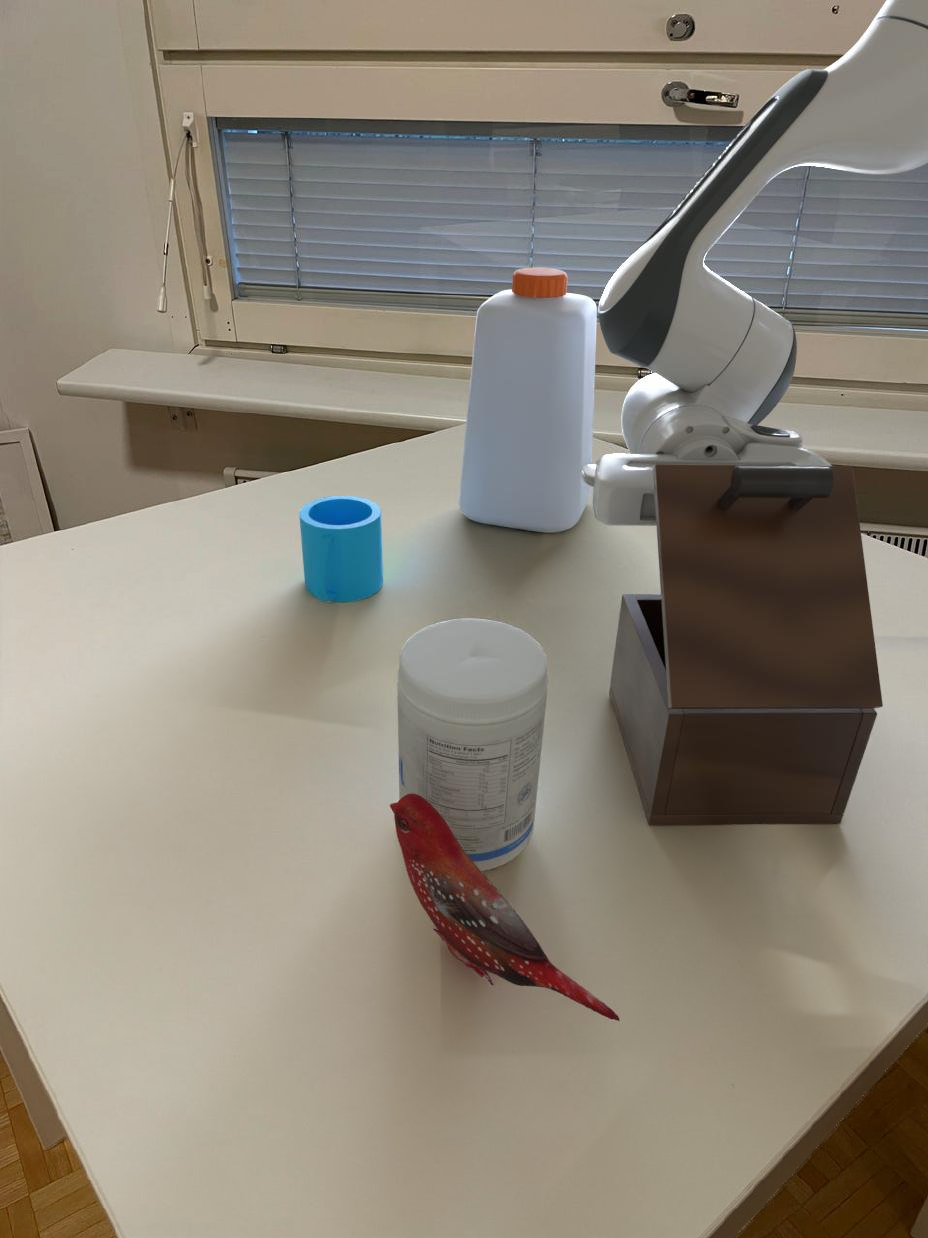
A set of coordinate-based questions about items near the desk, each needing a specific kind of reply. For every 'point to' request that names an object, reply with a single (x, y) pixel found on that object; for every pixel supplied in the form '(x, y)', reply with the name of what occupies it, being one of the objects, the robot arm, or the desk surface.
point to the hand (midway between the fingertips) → (743, 533)
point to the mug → (342, 548)
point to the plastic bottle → (530, 406)
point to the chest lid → (764, 588)
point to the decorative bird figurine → (474, 907)
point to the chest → (726, 744)
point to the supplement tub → (474, 731)
